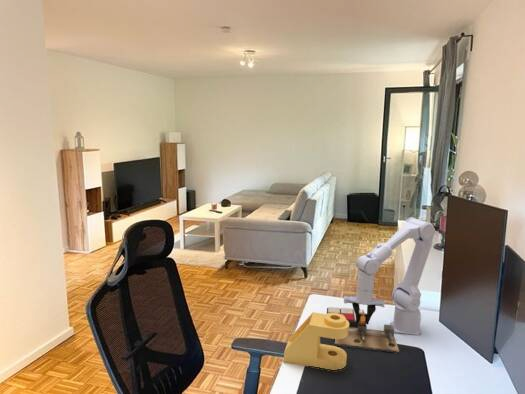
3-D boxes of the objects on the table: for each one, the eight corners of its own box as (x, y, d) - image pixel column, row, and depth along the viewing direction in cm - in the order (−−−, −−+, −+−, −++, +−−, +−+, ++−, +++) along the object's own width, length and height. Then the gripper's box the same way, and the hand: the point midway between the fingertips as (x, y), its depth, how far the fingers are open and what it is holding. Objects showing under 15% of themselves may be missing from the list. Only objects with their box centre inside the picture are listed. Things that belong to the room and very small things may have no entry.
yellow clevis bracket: (346, 357, 128) (350, 313, 125) (345, 373, 119) (349, 326, 117) (288, 347, 133) (291, 304, 130) (283, 362, 124) (285, 316, 121)
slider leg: (364, 329, 144) (366, 312, 142) (367, 341, 135) (369, 323, 134) (356, 329, 144) (358, 311, 143) (359, 341, 136) (360, 322, 134)
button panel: (326, 305, 159) (363, 307, 157) (326, 315, 160) (363, 317, 157) (327, 318, 148) (366, 320, 146) (326, 328, 149) (366, 330, 147)
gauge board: (391, 334, 144) (393, 323, 143) (398, 353, 131) (400, 341, 131) (333, 328, 147) (334, 317, 146) (334, 346, 134) (335, 334, 134)
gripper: (383, 285, 142) (380, 319, 144) (344, 282, 144) (341, 315, 146) (386, 293, 135) (383, 328, 137) (345, 289, 137) (342, 324, 139)
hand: (362, 322), depth 141 cm, fingers closed on slider leg, 3 cm apart
